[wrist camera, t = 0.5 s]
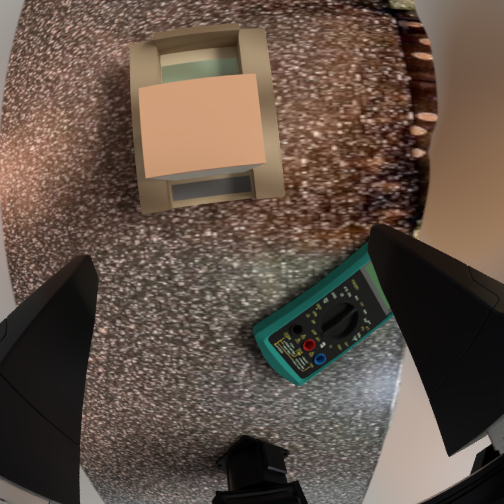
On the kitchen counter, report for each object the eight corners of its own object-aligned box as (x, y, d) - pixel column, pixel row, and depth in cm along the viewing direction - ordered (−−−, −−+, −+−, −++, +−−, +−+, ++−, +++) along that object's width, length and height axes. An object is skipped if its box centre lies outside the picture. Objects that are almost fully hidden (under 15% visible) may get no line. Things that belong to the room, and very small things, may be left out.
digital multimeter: (244, 328, 28) (248, 344, 25) (375, 230, 27) (392, 235, 24) (288, 377, 29) (295, 395, 27) (405, 288, 29) (421, 298, 26)
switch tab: (243, 172, 22) (266, 162, 13) (175, 180, 22) (145, 178, 12) (238, 119, 22) (255, 73, 12) (170, 128, 21) (138, 88, 11)
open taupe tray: (275, 194, 25) (288, 196, 21) (151, 210, 24) (138, 215, 20) (258, 46, 22) (266, 22, 18) (139, 60, 21) (126, 39, 17)
